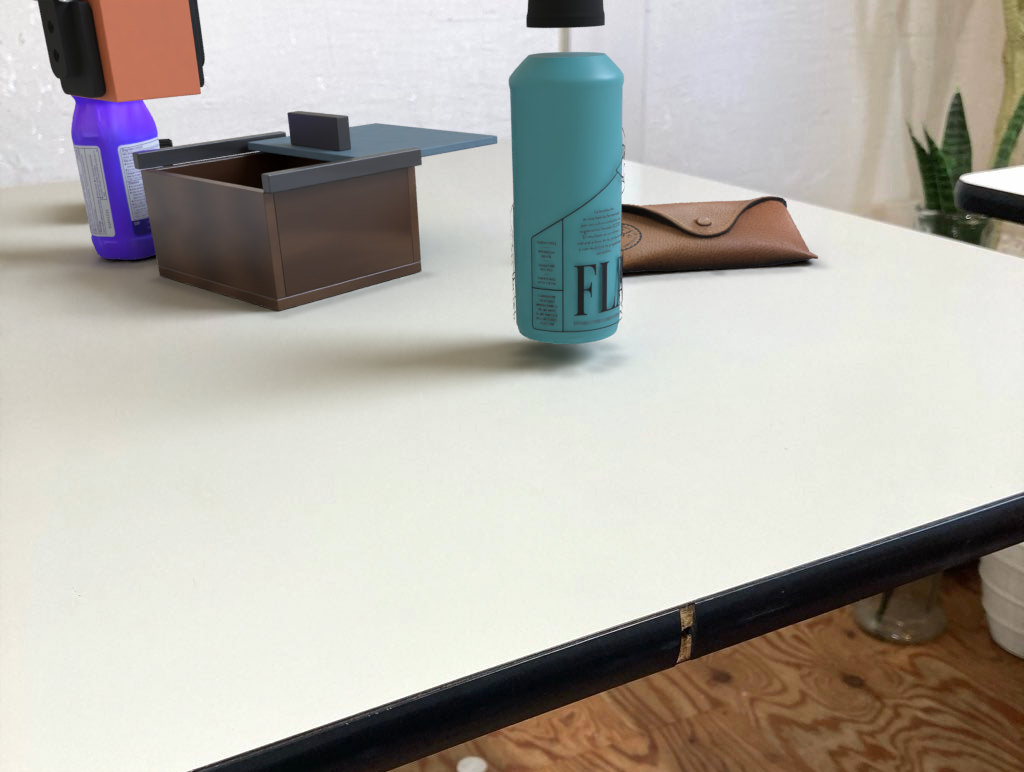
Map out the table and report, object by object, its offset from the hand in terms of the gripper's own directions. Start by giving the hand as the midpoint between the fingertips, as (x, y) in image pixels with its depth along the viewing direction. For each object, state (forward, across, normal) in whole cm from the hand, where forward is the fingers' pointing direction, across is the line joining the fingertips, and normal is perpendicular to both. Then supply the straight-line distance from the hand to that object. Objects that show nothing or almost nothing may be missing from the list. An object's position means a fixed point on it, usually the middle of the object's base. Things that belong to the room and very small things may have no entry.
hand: (134, 86), depth 51 cm
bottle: (+17, -16, -33) cm, 40 cm away
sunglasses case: (+16, -42, +6) cm, 46 cm away
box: (+16, -20, -17) cm, 31 cm away
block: (0, 0, 0) cm, 0 cm away
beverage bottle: (+16, -19, +12) cm, 27 cm away
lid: (+8, -29, -17) cm, 35 cm away
